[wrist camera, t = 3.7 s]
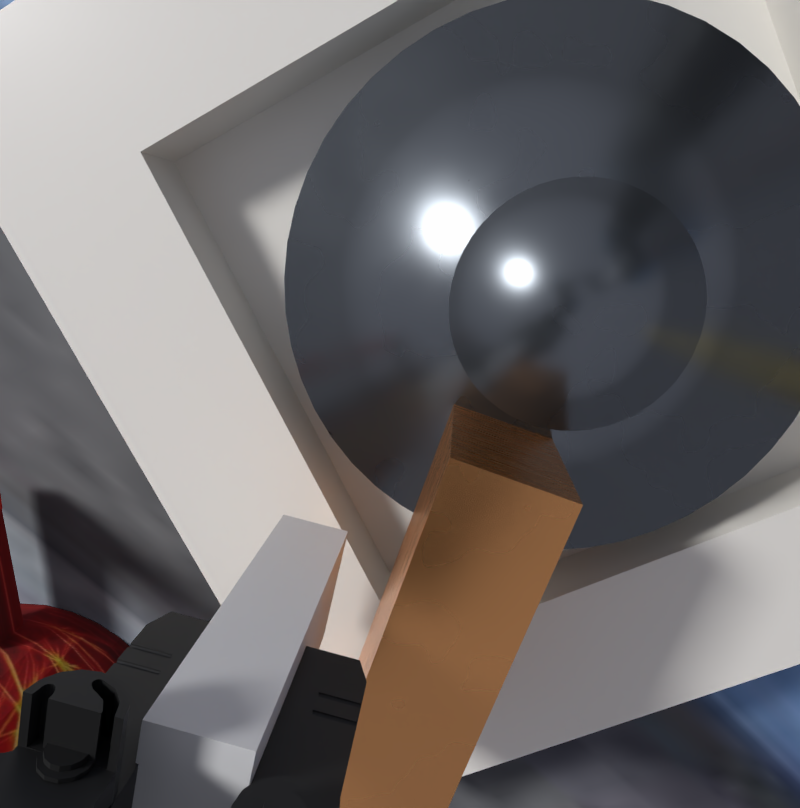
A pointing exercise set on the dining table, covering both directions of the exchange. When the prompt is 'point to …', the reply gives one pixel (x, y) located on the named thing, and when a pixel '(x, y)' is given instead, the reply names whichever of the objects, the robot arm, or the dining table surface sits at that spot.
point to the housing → (271, 348)
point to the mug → (41, 645)
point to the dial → (538, 326)
